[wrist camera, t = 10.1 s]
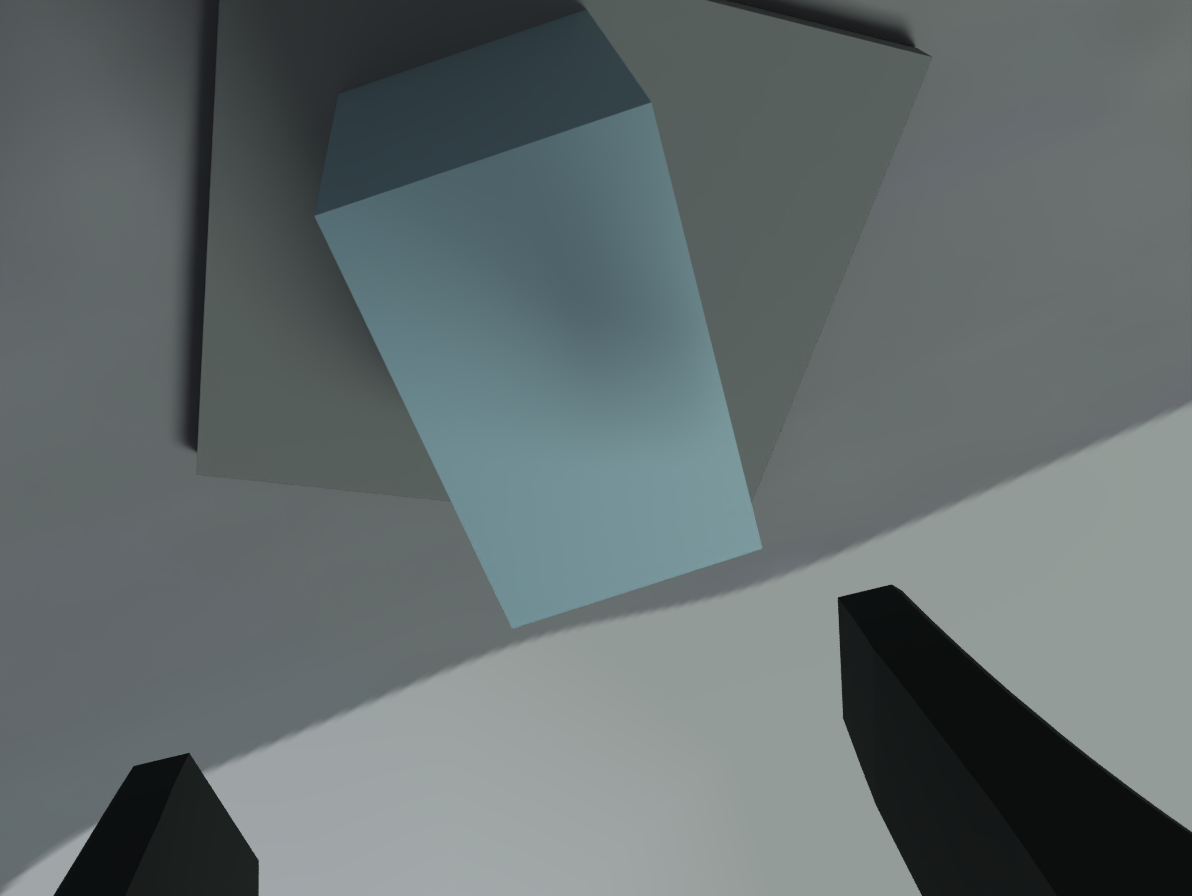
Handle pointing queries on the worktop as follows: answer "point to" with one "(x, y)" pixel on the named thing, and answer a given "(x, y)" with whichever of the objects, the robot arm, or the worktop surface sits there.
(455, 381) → the block
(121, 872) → the robot arm
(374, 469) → the mat
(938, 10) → the worktop surface
